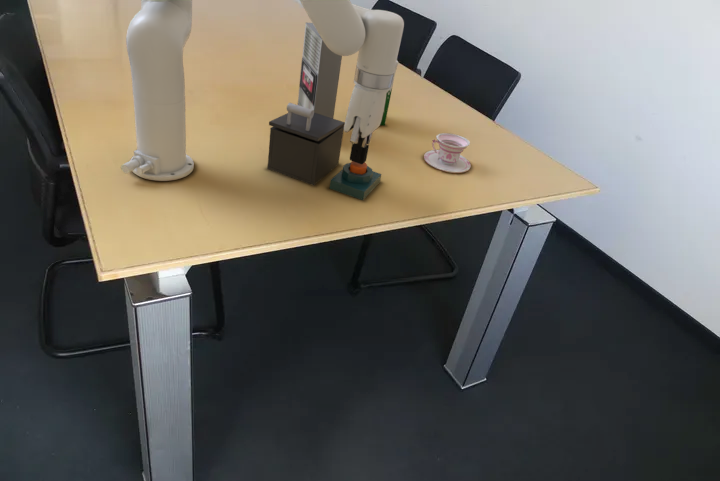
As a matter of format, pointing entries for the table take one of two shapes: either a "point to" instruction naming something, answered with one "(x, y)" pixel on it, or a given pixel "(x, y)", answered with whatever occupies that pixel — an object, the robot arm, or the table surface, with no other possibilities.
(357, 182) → the control block
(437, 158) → the teacup
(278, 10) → the table surface
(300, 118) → the lid
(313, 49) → the ribbed grey cuboid
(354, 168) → the button
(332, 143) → the open dark grey box
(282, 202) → the table surface
